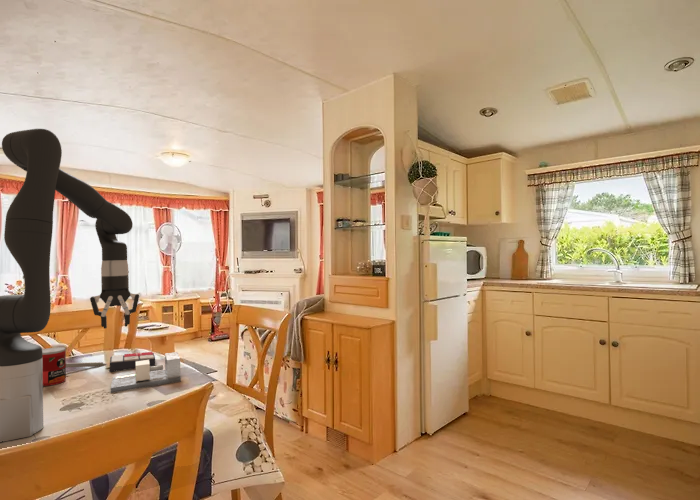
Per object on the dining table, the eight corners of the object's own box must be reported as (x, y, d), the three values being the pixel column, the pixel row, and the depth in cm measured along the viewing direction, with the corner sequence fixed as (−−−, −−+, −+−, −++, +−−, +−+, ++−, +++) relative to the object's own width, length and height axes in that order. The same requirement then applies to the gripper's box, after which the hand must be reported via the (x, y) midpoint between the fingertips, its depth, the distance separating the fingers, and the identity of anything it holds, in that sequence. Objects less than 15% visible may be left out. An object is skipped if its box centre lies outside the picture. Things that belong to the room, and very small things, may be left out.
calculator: (155, 356, 151) (109, 360, 143) (155, 368, 151) (109, 372, 143) (153, 350, 160) (110, 354, 153) (153, 361, 160) (110, 365, 153)
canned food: (51, 386, 128) (50, 353, 128) (31, 385, 130) (30, 352, 130) (72, 379, 136) (71, 347, 136) (52, 378, 137) (52, 346, 137)
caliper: (40, 378, 138) (40, 360, 138) (40, 378, 139) (40, 360, 139) (106, 365, 153) (106, 349, 153) (105, 364, 154) (105, 348, 154)
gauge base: (180, 381, 131) (180, 359, 131) (110, 392, 121) (110, 368, 121) (177, 372, 142) (177, 351, 142) (112, 382, 132) (112, 359, 132)
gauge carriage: (163, 377, 130) (163, 362, 130) (135, 381, 126) (135, 365, 126) (161, 369, 139) (161, 355, 139) (135, 373, 135) (135, 358, 135)
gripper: (87, 276, 120) (88, 331, 120) (140, 274, 127) (141, 326, 127) (89, 275, 126) (90, 327, 126) (140, 273, 133) (141, 323, 133)
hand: (115, 326), depth 127 cm, fingers open, 5 cm apart
